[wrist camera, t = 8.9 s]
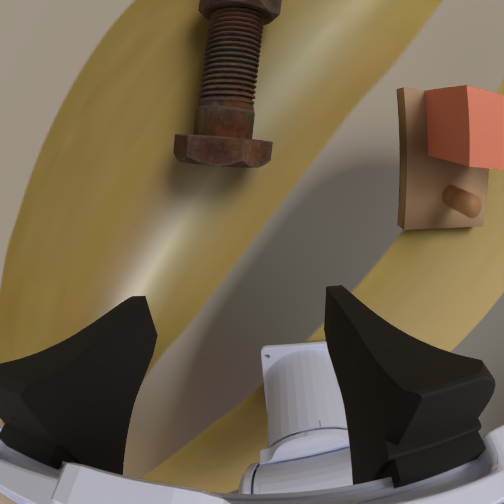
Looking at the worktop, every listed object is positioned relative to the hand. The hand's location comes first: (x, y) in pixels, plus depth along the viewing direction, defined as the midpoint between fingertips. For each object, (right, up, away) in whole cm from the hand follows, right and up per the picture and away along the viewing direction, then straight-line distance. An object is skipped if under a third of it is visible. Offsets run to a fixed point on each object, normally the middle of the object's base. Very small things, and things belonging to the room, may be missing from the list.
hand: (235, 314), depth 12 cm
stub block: (+15, +9, +7) cm, 19 cm away
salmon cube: (+15, +11, +5) cm, 19 cm away
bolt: (0, +16, +5) cm, 16 cm away
